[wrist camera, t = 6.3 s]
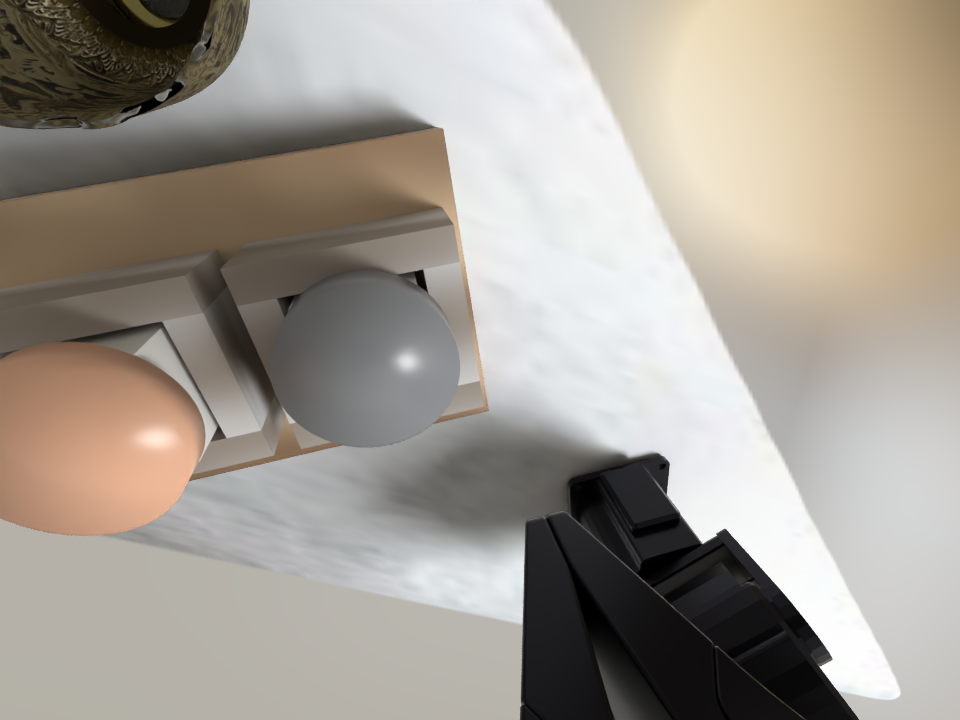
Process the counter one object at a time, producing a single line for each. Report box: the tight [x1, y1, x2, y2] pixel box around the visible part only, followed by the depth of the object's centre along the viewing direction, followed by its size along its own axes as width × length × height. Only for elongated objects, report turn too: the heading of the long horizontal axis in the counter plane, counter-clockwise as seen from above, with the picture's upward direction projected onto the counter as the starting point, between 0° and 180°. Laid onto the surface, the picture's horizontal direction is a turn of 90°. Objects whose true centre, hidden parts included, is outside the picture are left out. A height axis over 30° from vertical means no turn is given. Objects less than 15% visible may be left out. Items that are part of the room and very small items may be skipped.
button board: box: [0, 127, 489, 481], centre depth 17 cm, size 12×16×5 cm
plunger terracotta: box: [0, 321, 219, 536], centre depth 14 cm, size 6×6×4 cm
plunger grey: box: [270, 270, 460, 447], centre depth 15 cm, size 6×6×4 cm
